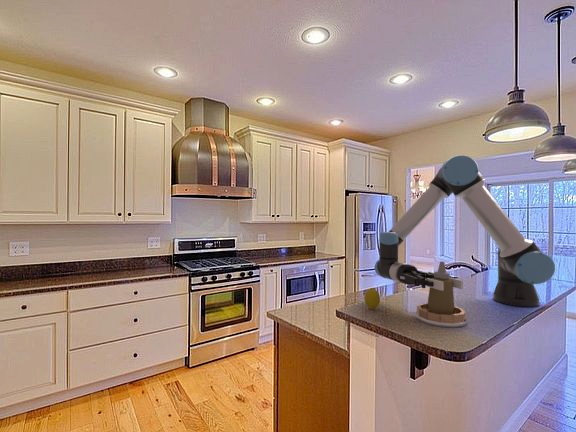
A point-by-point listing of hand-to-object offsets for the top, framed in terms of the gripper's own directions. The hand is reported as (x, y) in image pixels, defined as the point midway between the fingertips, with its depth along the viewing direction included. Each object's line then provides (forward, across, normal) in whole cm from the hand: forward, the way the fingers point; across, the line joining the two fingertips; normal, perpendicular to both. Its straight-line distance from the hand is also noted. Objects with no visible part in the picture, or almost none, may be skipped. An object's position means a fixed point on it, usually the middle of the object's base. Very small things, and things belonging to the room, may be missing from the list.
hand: (452, 285), depth 98 cm
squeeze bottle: (-5, 0, -11) cm, 12 cm away
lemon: (-22, +15, -13) cm, 29 cm away
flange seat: (-5, 0, -12) cm, 13 cm away
